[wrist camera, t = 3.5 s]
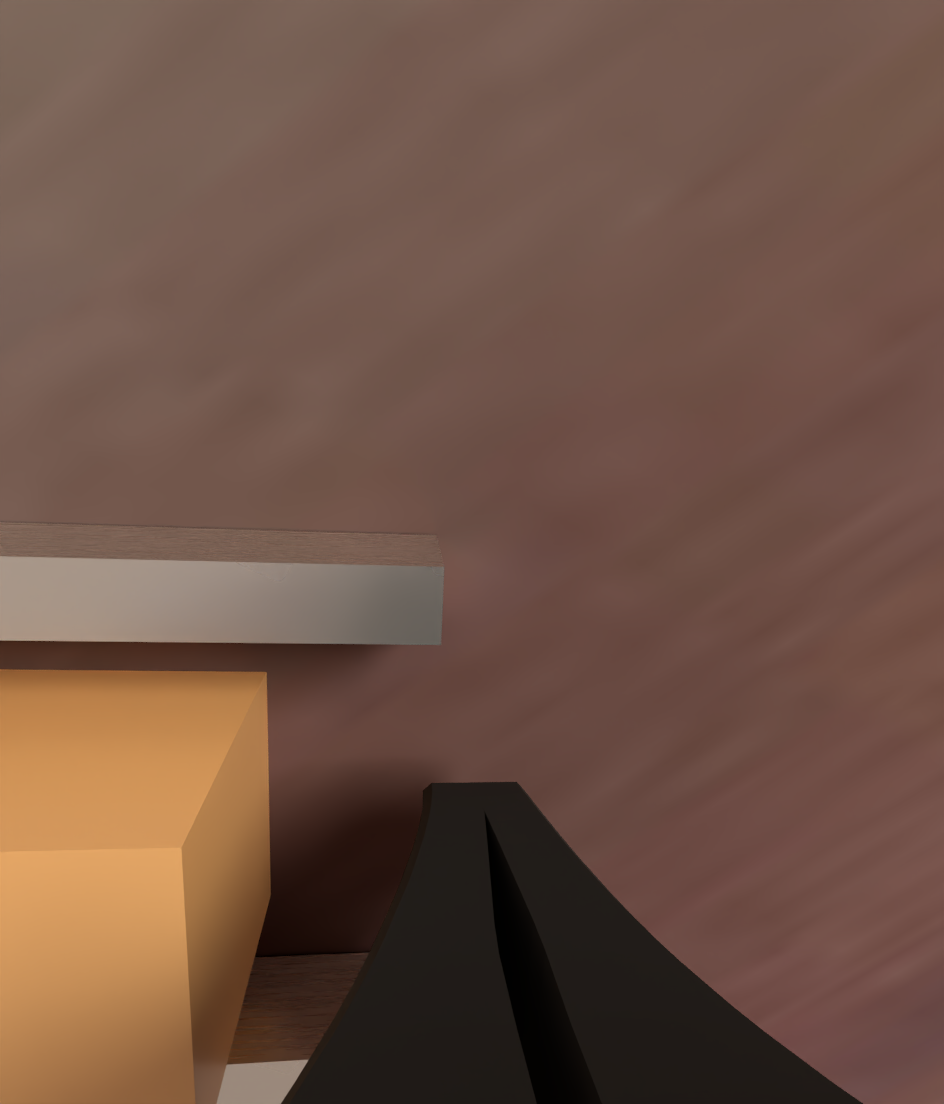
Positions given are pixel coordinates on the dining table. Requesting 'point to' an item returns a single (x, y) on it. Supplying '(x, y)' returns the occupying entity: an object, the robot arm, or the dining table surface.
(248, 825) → the light orange cube
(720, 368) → the dining table surface
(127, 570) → the rail channel
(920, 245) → the dining table surface
